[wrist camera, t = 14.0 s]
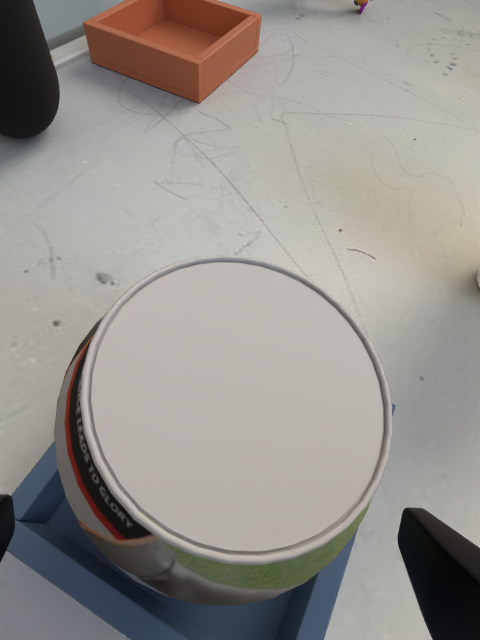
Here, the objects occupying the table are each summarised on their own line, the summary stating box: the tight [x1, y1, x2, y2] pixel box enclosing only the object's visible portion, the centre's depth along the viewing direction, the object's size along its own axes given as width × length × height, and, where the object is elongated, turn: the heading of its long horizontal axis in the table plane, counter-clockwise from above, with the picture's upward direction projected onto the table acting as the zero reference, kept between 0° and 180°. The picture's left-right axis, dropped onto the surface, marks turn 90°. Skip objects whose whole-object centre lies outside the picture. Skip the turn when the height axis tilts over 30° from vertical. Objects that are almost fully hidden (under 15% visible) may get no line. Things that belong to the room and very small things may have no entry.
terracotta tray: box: [83, 0, 262, 103], centre depth 33 cm, size 11×11×3 cm
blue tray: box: [7, 403, 395, 640], centre depth 15 cm, size 11×11×3 cm
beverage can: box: [54, 255, 392, 605], centre depth 10 cm, size 6×7×12 cm
